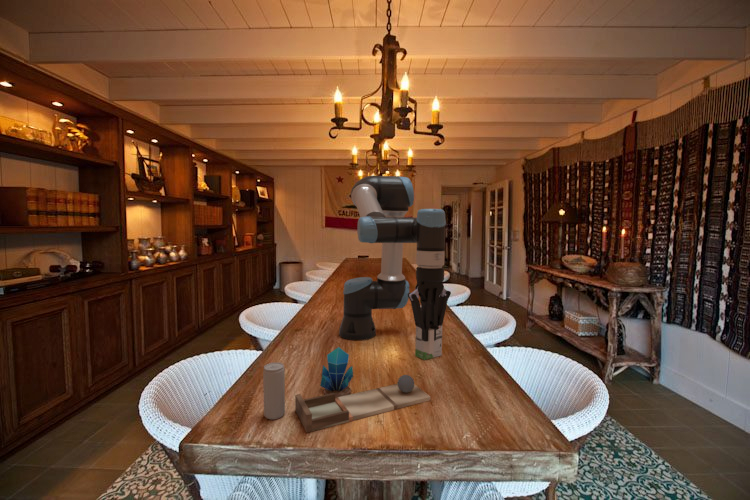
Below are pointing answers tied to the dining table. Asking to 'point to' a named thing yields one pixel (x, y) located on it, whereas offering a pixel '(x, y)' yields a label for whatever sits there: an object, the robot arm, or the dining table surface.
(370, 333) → the robot arm
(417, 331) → the ink box
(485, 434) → the dining table surface
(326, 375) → the gemstone
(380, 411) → the lane
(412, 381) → the ball
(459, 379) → the dining table surface
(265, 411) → the beverage can
